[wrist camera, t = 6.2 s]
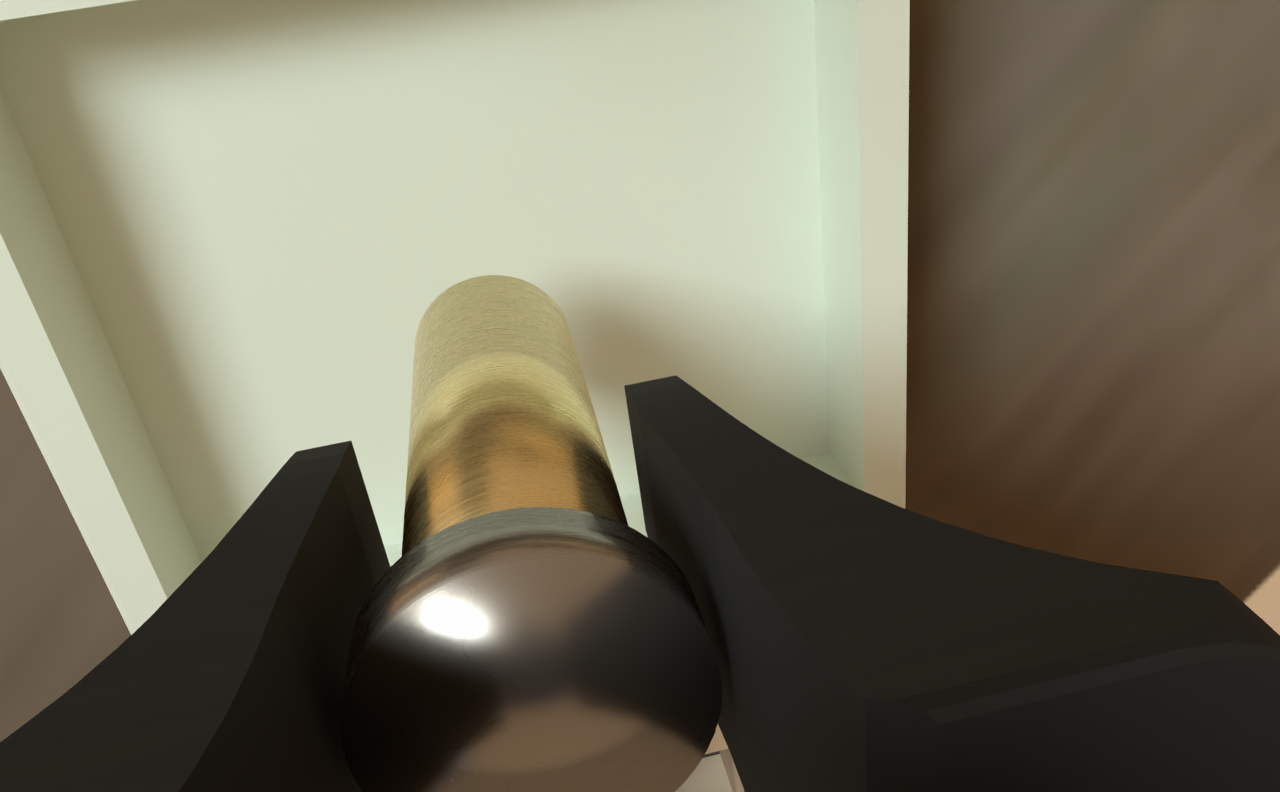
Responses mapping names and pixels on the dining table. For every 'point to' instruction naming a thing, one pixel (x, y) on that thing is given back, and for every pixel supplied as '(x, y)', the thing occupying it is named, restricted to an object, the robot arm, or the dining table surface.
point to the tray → (434, 233)
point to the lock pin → (521, 584)
